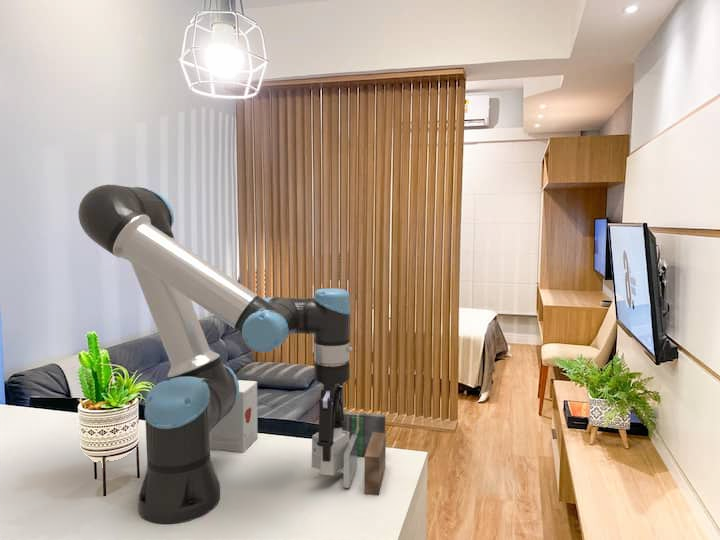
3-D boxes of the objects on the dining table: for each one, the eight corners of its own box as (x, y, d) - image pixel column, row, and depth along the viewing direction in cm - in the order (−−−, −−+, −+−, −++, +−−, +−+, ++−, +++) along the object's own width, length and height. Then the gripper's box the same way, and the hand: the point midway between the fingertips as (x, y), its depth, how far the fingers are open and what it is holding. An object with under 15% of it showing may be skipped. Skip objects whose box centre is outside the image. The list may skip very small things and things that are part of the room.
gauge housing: (313, 489, 106) (312, 442, 106) (331, 451, 124) (331, 411, 123) (378, 495, 104) (379, 447, 103) (387, 456, 122) (388, 415, 121)
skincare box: (311, 468, 111) (311, 435, 110) (326, 457, 116) (326, 425, 115) (334, 475, 108) (335, 441, 107) (349, 463, 113) (350, 431, 112)
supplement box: (243, 453, 123) (243, 392, 121) (209, 449, 124) (207, 389, 123) (258, 437, 132) (258, 380, 130) (226, 434, 133) (225, 378, 132)
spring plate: (343, 487, 106) (343, 440, 106) (355, 454, 121) (355, 413, 120) (349, 487, 106) (349, 440, 105) (360, 455, 121) (360, 413, 120)
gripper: (340, 376, 99) (339, 490, 101) (357, 350, 119) (356, 446, 121) (302, 374, 100) (302, 487, 102) (325, 349, 120) (325, 443, 122)
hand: (331, 464), depth 112 cm, fingers closed on skincare box, 7 cm apart
